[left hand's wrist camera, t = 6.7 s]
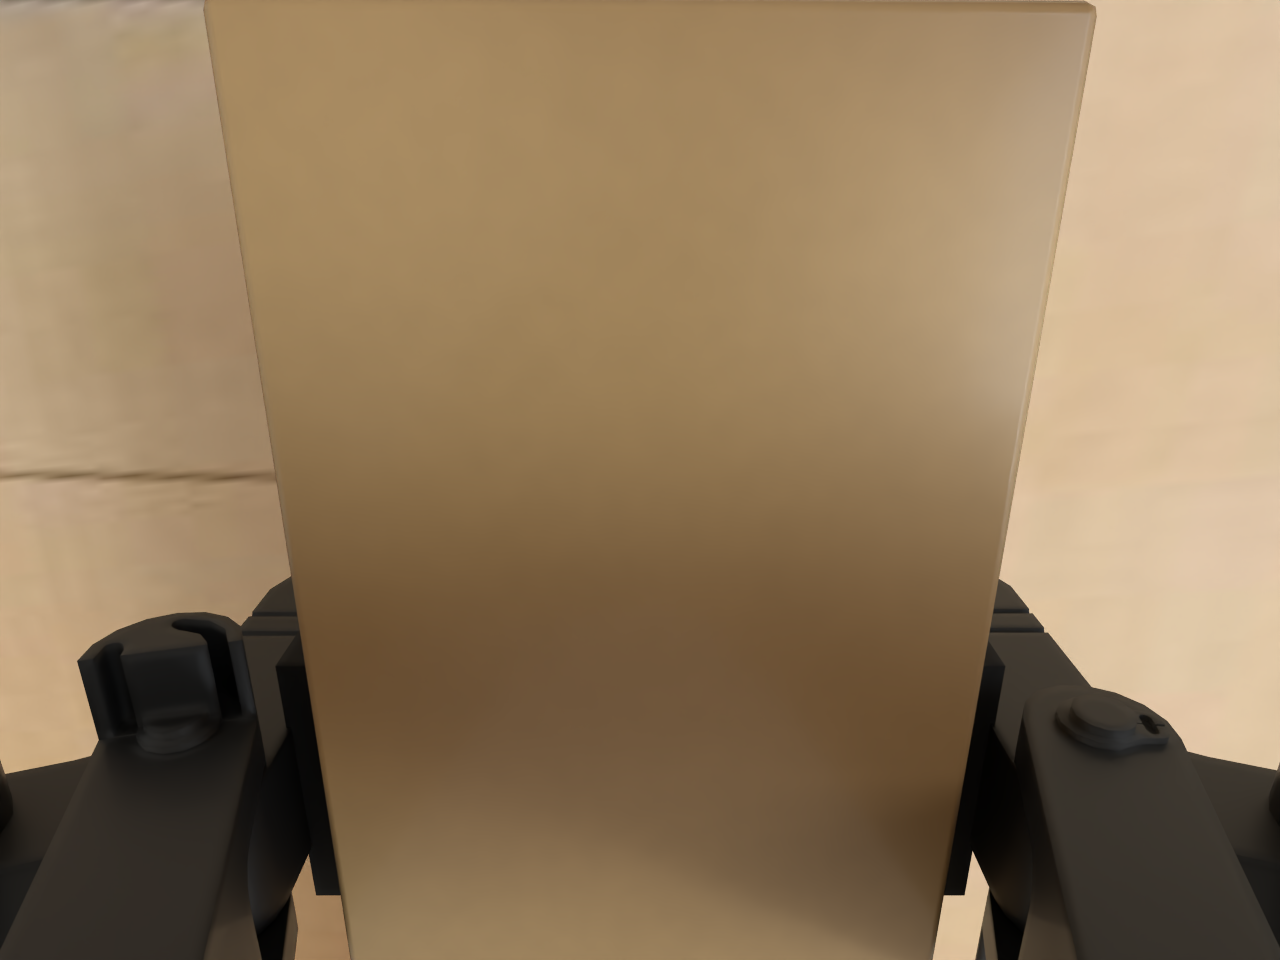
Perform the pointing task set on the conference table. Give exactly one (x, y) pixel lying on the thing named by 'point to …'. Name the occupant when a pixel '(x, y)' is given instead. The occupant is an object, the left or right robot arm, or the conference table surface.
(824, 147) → the post
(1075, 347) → the conference table surface
